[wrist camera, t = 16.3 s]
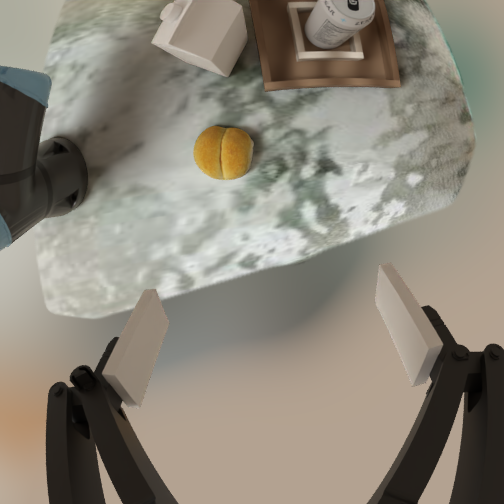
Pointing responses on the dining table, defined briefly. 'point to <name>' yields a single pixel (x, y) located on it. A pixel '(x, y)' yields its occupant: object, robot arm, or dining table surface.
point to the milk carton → (203, 33)
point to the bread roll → (223, 152)
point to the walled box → (321, 50)
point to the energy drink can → (337, 21)
